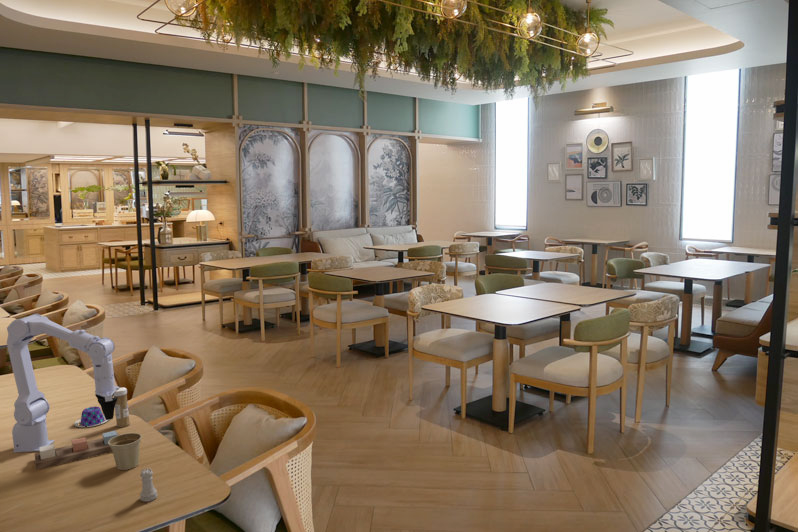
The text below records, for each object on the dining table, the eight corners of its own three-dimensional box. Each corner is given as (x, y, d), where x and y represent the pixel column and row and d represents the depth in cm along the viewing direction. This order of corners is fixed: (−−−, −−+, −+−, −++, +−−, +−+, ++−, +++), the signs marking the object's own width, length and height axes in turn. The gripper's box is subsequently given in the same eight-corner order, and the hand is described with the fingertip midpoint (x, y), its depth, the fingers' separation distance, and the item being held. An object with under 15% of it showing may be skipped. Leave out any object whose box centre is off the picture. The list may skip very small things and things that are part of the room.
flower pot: (111, 476, 182) (108, 448, 181) (109, 463, 190) (107, 437, 189) (145, 468, 186) (143, 441, 185) (142, 456, 194) (140, 430, 193)
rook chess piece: (143, 494, 170) (140, 467, 169) (159, 493, 170) (157, 466, 169) (137, 503, 165) (134, 474, 164) (154, 501, 166) (152, 473, 165)
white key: (40, 460, 190) (39, 451, 190) (40, 456, 194) (39, 447, 193) (55, 457, 192) (54, 448, 192) (54, 452, 196) (53, 444, 195)
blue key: (104, 445, 200) (104, 437, 199) (103, 441, 203) (102, 433, 203) (118, 442, 202) (117, 434, 201) (116, 438, 205) (115, 430, 205)
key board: (36, 469, 188) (35, 463, 187) (35, 459, 195) (34, 453, 195) (125, 449, 201) (124, 443, 200) (120, 439, 208) (120, 434, 208)
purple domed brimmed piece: (66, 426, 223) (65, 412, 222) (94, 415, 234) (92, 401, 233) (91, 430, 218) (89, 416, 217) (118, 418, 229) (116, 404, 228)
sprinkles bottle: (131, 425, 221) (127, 389, 219) (117, 428, 218) (113, 392, 216) (128, 421, 224) (125, 386, 223) (115, 424, 222) (111, 388, 220)
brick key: (73, 453, 195) (72, 444, 195) (72, 448, 198) (71, 440, 198) (87, 449, 197) (86, 441, 197) (86, 445, 200) (85, 437, 200)
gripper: (120, 379, 195) (125, 420, 197) (114, 368, 208) (118, 407, 209) (96, 383, 192) (100, 425, 194) (91, 372, 204) (95, 412, 206)
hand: (108, 416), depth 201 cm, fingers open, 5 cm apart
